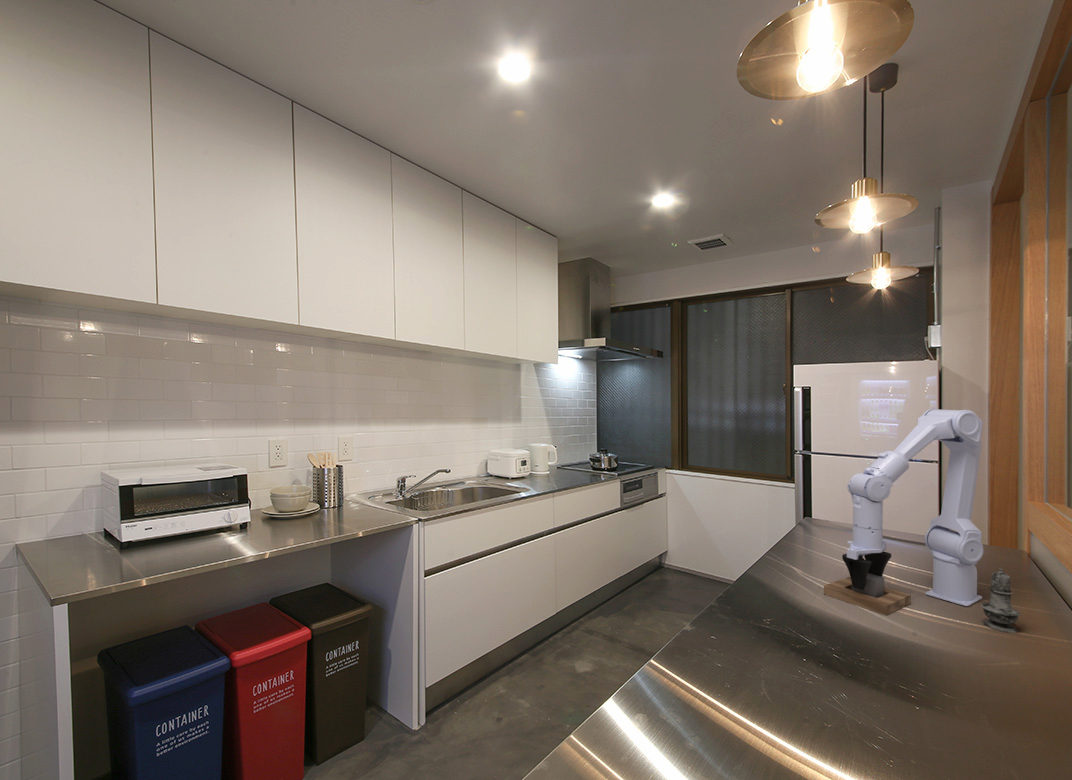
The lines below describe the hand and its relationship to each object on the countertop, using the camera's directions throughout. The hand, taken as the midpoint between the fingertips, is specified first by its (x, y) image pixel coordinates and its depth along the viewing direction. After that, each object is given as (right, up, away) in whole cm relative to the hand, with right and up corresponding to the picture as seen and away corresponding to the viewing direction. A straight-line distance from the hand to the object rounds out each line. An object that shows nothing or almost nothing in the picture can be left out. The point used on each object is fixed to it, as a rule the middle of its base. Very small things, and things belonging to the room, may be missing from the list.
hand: (866, 585), depth 115 cm
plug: (0, -3, 0) cm, 3 cm away
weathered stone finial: (+19, -4, -13) cm, 23 cm away
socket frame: (0, -3, 0) cm, 3 cm away
